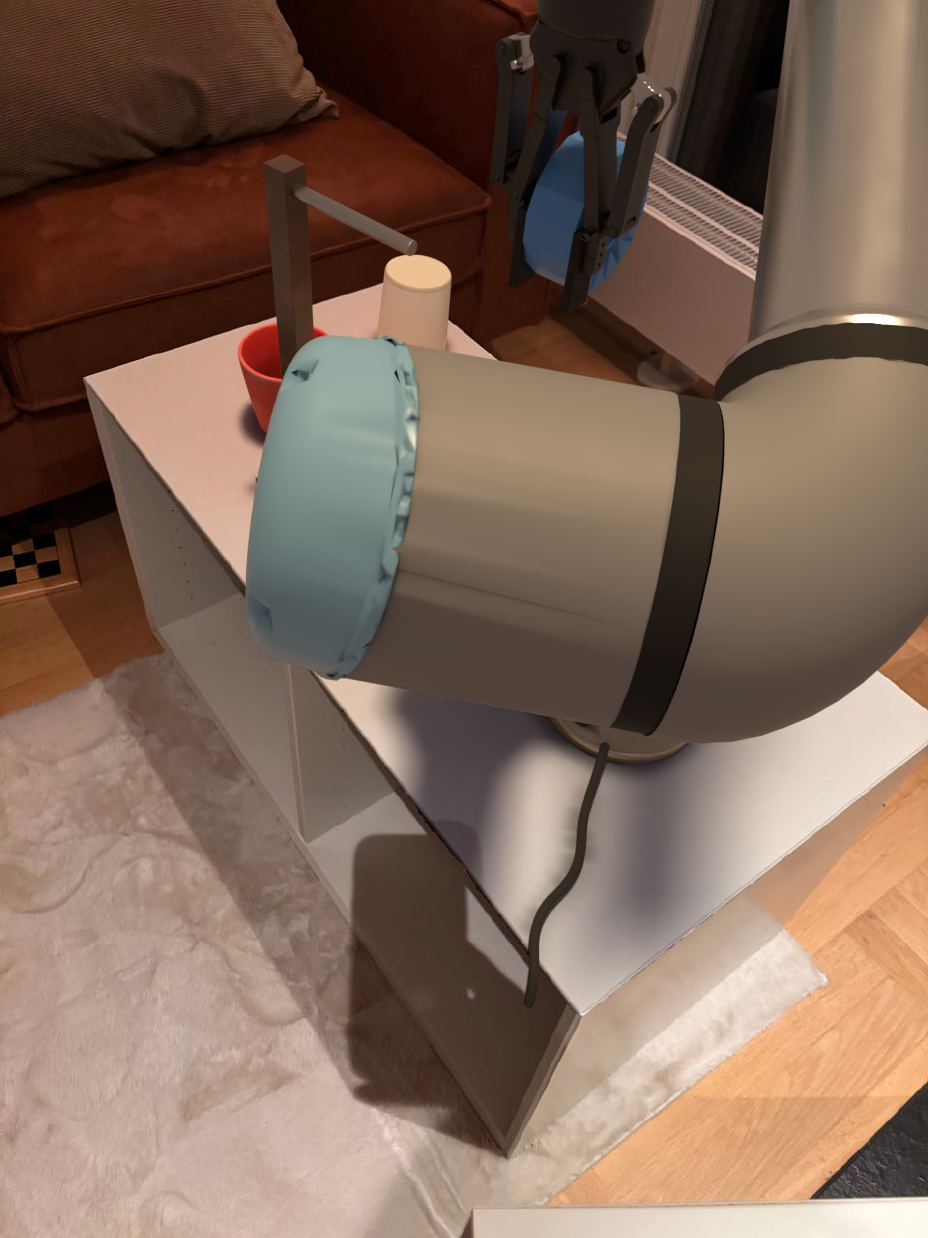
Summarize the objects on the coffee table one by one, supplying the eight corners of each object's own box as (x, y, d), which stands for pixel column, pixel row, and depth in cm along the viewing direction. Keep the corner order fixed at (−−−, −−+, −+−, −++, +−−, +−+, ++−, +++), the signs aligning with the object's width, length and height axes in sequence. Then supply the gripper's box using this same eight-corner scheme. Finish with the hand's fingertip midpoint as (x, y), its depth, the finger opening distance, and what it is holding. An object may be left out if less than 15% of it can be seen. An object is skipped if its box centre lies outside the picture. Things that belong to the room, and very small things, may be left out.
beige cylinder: (370, 278, 108) (366, 354, 116) (443, 298, 108) (434, 373, 115) (400, 238, 116) (394, 312, 123) (468, 256, 115) (458, 329, 123)
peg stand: (425, 527, 98) (447, 208, 72) (374, 568, 94) (377, 244, 67) (308, 453, 104) (289, 133, 78) (256, 489, 100) (216, 163, 73)
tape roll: (662, 130, 71) (584, 174, 65) (631, 263, 80) (559, 313, 74) (614, 111, 73) (534, 153, 67) (588, 244, 81) (515, 292, 75)
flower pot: (357, 414, 110) (357, 343, 102) (301, 463, 103) (295, 392, 96) (286, 380, 112) (280, 309, 105) (226, 427, 106) (215, 355, 99)
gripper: (756, -22, 56) (662, 318, 74) (525, -95, 62) (489, 236, 80) (697, 5, 52) (612, 358, 70) (455, -76, 58) (434, 268, 76)
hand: (547, 292), depth 75 cm, fingers closed on tape roll, 4 cm apart
